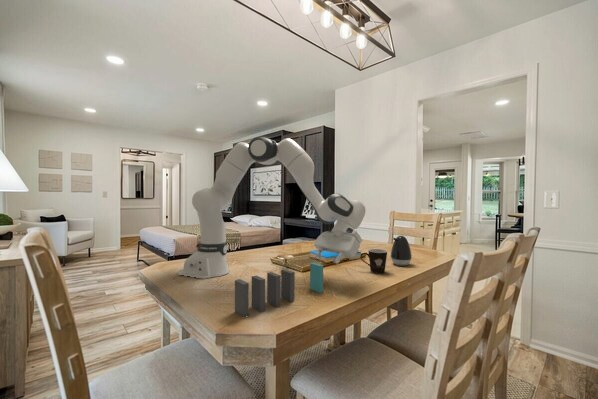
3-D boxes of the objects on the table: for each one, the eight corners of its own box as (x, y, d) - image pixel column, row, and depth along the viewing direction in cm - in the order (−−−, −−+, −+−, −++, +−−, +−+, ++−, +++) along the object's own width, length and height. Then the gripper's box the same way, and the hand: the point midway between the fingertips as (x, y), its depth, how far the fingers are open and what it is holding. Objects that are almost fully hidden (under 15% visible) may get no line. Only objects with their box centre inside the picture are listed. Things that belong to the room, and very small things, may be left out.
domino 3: (276, 307, 88) (276, 276, 88) (267, 302, 92) (267, 272, 92) (280, 305, 89) (280, 275, 89) (271, 300, 93) (271, 271, 93)
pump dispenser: (386, 263, 145) (386, 234, 144) (400, 261, 149) (401, 233, 149) (400, 268, 135) (401, 237, 135) (415, 265, 140) (416, 236, 139)
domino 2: (260, 312, 84) (260, 280, 84) (251, 307, 88) (251, 276, 88) (265, 310, 85) (265, 279, 85) (256, 305, 89) (256, 275, 89)
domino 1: (243, 318, 80) (243, 284, 80) (234, 312, 84) (234, 280, 84) (248, 316, 81) (248, 283, 81) (240, 310, 85) (240, 279, 85)
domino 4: (290, 302, 92) (290, 273, 92) (281, 297, 96) (281, 269, 96) (294, 301, 93) (294, 272, 93) (285, 296, 97) (285, 268, 97)
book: (361, 252, 156) (326, 256, 143) (361, 259, 156) (326, 264, 143) (342, 247, 171) (309, 250, 158) (342, 253, 171) (308, 257, 158)
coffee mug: (389, 271, 130) (389, 250, 130) (383, 275, 123) (384, 253, 123) (365, 267, 137) (366, 247, 136) (359, 271, 130) (359, 250, 129)
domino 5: (319, 292, 101) (319, 266, 101) (310, 289, 105) (310, 263, 105) (323, 291, 102) (323, 265, 102) (313, 287, 106) (313, 262, 106)
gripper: (320, 225, 120) (304, 251, 113) (359, 230, 104) (342, 260, 98) (327, 235, 123) (311, 259, 116) (365, 241, 107) (350, 270, 101)
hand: (326, 260), depth 107 cm, fingers open, 8 cm apart
